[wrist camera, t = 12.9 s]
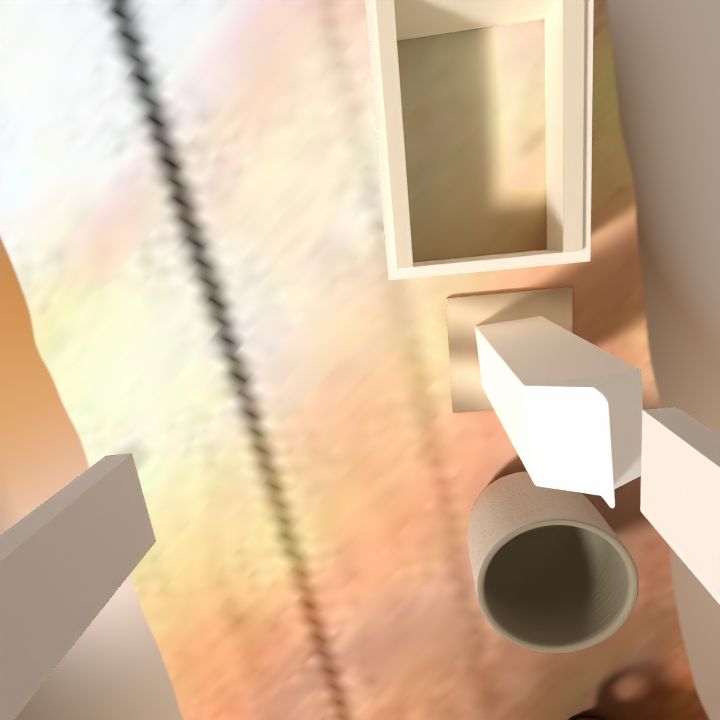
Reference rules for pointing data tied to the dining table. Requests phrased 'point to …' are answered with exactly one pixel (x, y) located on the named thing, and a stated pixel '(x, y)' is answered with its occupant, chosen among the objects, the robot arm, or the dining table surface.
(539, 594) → the planter
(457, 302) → the mat
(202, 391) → the dining table surface
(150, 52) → the dining table surface
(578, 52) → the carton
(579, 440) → the milk
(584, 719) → the mug
